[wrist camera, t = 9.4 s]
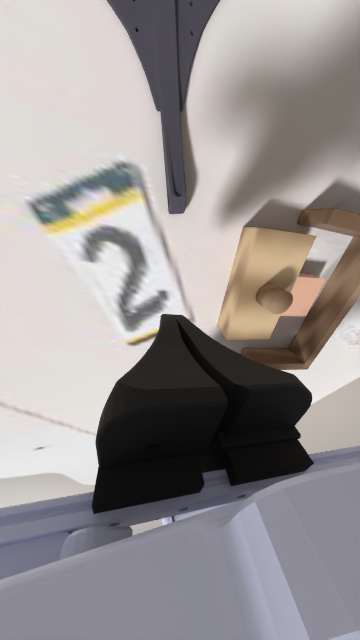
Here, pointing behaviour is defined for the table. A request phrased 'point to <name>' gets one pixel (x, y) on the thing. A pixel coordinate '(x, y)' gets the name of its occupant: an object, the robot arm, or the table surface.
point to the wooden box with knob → (262, 281)
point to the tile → (304, 294)
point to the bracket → (167, 68)
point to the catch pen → (321, 297)
